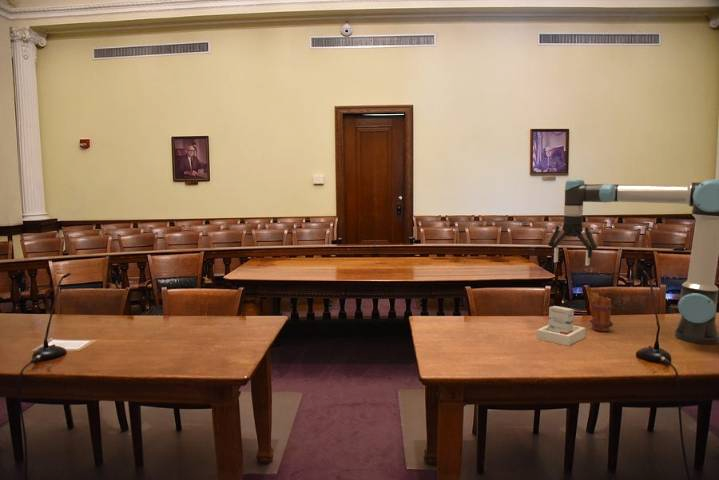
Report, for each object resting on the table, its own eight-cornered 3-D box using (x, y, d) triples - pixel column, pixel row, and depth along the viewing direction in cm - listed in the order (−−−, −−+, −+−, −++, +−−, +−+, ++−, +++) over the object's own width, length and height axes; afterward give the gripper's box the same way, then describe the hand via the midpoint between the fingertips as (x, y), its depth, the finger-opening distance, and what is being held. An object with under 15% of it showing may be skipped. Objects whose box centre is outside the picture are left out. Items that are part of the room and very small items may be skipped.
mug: (615, 333, 211) (617, 298, 209) (596, 333, 211) (598, 298, 209) (599, 324, 225) (601, 291, 224) (581, 323, 225) (583, 291, 224)
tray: (585, 336, 206) (585, 327, 206) (568, 345, 194) (568, 336, 194) (554, 330, 215) (554, 321, 215) (536, 338, 203) (536, 329, 203)
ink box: (573, 336, 203) (574, 308, 202) (567, 339, 200) (568, 310, 199) (553, 332, 210) (554, 304, 208) (547, 334, 206) (548, 306, 205)
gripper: (606, 216, 210) (604, 265, 212) (548, 214, 227) (546, 260, 229) (600, 216, 205) (598, 267, 207) (541, 214, 222) (540, 261, 224)
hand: (571, 263), depth 218 cm, fingers open, 13 cm apart
